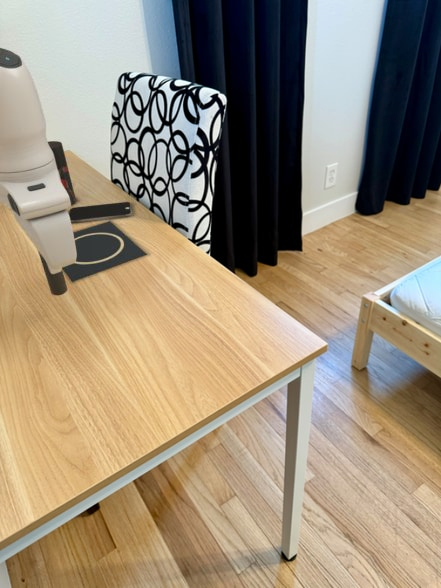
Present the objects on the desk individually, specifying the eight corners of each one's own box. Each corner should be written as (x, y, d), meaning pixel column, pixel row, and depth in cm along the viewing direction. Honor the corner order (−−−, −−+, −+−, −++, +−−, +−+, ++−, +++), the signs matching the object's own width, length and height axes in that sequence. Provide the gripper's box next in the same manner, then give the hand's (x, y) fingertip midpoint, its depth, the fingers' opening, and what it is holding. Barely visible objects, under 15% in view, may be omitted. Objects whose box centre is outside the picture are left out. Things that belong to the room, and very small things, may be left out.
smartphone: (131, 214, 103) (67, 221, 101) (132, 217, 104) (68, 224, 101) (130, 201, 109) (70, 207, 107) (131, 203, 110) (70, 210, 107)
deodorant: (47, 204, 111) (30, 146, 102) (66, 196, 115) (51, 139, 106) (62, 210, 108) (46, 150, 99) (81, 201, 112) (67, 143, 103)
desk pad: (72, 282, 82) (72, 280, 82) (42, 243, 95) (42, 241, 94) (147, 255, 89) (147, 253, 89) (110, 222, 102) (109, 220, 102)
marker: (53, 297, 69) (31, 225, 61) (48, 289, 71) (26, 218, 63) (70, 291, 71) (49, 220, 63) (64, 284, 72) (44, 214, 64)
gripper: (-14, 165, 65) (14, 244, 73) (22, 213, 51) (51, 304, 60) (28, 156, 68) (50, 233, 76) (74, 200, 54) (95, 288, 63)
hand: (51, 265), depth 68 cm, fingers closed on marker, 2 cm apart
